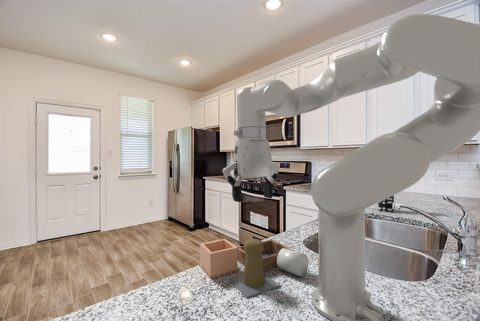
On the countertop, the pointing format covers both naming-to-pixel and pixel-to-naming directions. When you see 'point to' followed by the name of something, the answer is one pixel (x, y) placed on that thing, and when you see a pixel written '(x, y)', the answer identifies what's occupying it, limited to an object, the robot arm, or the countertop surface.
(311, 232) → the countertop surface
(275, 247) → the walnut open frame
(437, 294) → the countertop surface
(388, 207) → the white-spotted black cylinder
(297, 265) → the white plastic tumbler
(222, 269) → the copper open box
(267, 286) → the slate coaster
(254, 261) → the pepper shaker
